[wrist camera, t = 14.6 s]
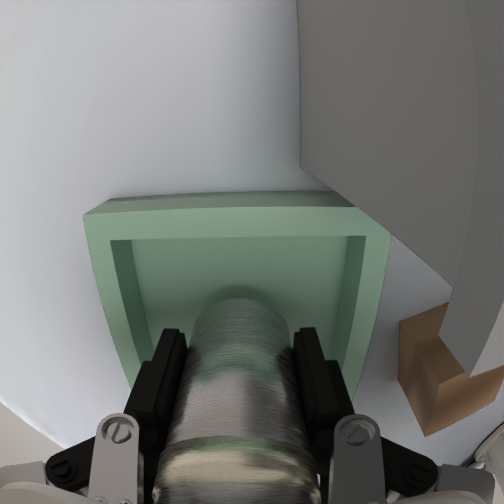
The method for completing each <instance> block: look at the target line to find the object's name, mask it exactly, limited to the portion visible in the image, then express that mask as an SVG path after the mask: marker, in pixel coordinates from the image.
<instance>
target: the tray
mask: <svg viewBox="0 0 504 504" xmlns="http://www.w3.org/2000/svg"><path fill="white" fill-rule="evenodd" d="M83 221H84V227H85V232H86V237H87V243H88V248H89V252H90V257H91V262H92V266H93V270H94V275H95V279H96V283H97V287H98V291H99V294H100V298H101V302H102V305H103V309H104V312H105V316H106V319H107V322H108V326H109V329H110V332H111V335H112V338H113V341H114V344H115V347H116V350H117V353H118V356H119V358H120V361H121V364H122V367H123V369H124V372H125V375H126V377H127V380H128V382H129V385H130V387H131V390H132V388H133V386H134V383H135V380H136V378H137V375H138V373H139V370H140V367H141V365H142V363H143V362H144V361H151V360H152V358H153V355H154V352H155V350H156V347H157V344H158V342H159V339H160V336H161V334H162V331H163V329H164V328H174V329H179V330H180V333H184V334H185V338H186V343H187V349H188V346H189V342H190V338H191V334H192V330H193V326H194V323H195V321H196V319H197V318H198V316H199V315H200V314H201V313H202V312H203V311H204V310H205V309H207V308H208V307H209V306H211V305H213V304H215V303H217V302H220V301H223V300H227V299H235V298H246V299H253V300H257V301H260V302H263V303H265V304H267V305H269V306H271V307H273V308H274V309H275V310H277V311H278V312H279V313H280V314H281V315H282V316H283V318H284V319H285V321H286V322H287V324H288V327H289V331H290V336H291V342H292V347H293V340H294V332H299V329H300V328H302V327H315V328H316V331H317V334H318V338H319V341H320V344H321V348H322V351H323V354H324V358H325V360H335V359H336V360H337V361H338V363H339V366H340V369H341V372H342V375H343V378H344V381H345V384H346V387H347V390H348V393H349V397H350V400H351V403H352V400H353V397H354V394H355V391H356V388H357V385H358V381H359V378H360V375H361V372H362V368H363V365H364V361H365V358H366V354H367V351H368V347H369V343H370V339H371V335H372V331H373V327H374V323H375V319H376V315H377V310H378V306H379V301H380V297H381V292H382V287H383V282H384V276H385V271H386V265H387V259H388V253H389V247H390V240H391V233H390V232H388V231H387V230H386V229H385V228H383V227H382V226H381V225H380V224H378V223H377V222H376V221H374V220H373V219H372V218H371V217H369V216H368V215H367V214H365V213H364V212H363V211H361V210H360V209H359V208H357V207H356V206H355V205H353V204H352V203H351V202H349V201H348V200H347V199H345V198H344V197H342V196H341V195H340V194H338V193H337V192H226V193H197V194H176V195H159V196H144V197H130V198H118V199H110V200H108V201H106V202H104V203H103V204H101V205H99V206H97V207H96V208H94V209H92V210H90V211H89V212H87V213H85V214H84V215H83Z"/></svg>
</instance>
